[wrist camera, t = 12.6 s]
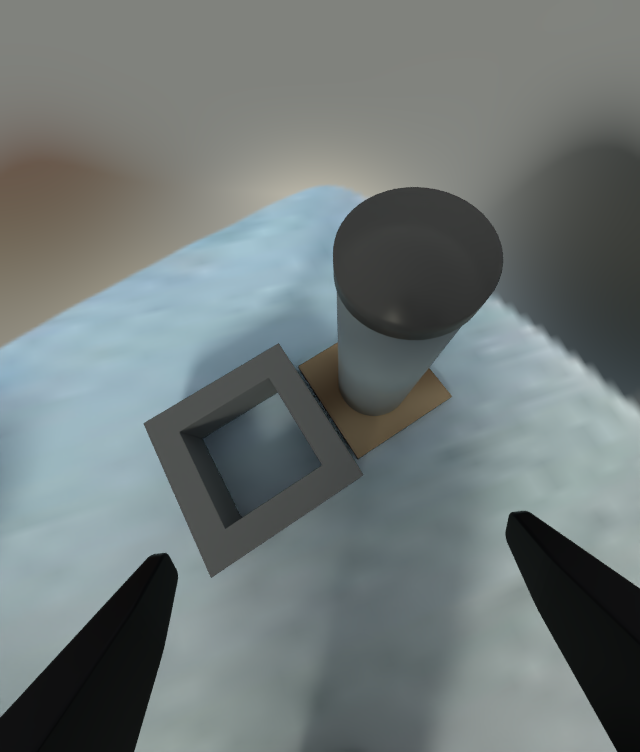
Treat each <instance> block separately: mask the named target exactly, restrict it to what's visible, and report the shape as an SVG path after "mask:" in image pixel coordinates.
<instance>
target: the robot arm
mask: <svg viewBox="0 0 640 752" xmlns="http://www.w3.org/2000/svg"><path fill="white" fill-rule="evenodd" d="M505 535H506V540H507V543H508V545H509V548H510V550H511V552H512V554H513V556H514V559H515V561H516V563H517V565H518V568H519V570H520V572H521V574H522V576H523V579H524V581H525V583H526V585H527V588H528V590H529V592H530V594H531V597H532V599H533V601H534V603H535V605H536V607H537V609H538V611H539V613H540V615H541V616H542V618H543V620H544V622H545V624H546V625H547V627H548V629H549V631H550V633H551V634H552V636H553V638H554V640H555V642H556V643H557V645H558V647H559V649H560V650H561V652H562V654H563V656H564V658H565V659H566V661H567V663H568V665H569V666H570V668H571V670H572V672H573V674H574V675H575V677H576V679H577V681H578V683H579V684H580V686H581V688H582V690H583V691H584V693H585V695H586V697H587V699H588V700H589V702H590V704H591V706H592V707H593V709H594V711H595V713H596V715H597V716H598V718H599V720H600V722H601V724H602V725H603V727H604V729H605V731H606V732H607V734H608V736H609V738H610V740H611V741H612V743H613V745H614V747H615V749H616V750H617V752H640V588H638V587H637V586H636V585H634V584H633V583H631V582H630V581H628V580H627V579H625V578H624V577H623V576H621V575H620V574H618V573H617V572H615V571H614V570H612V569H611V568H610V567H608V566H607V565H605V564H604V563H602V562H601V561H599V560H598V559H597V558H595V557H594V556H592V555H591V554H589V553H588V552H586V551H585V550H584V549H582V548H581V547H579V546H578V545H576V544H575V543H573V542H572V541H571V540H569V539H568V538H566V537H565V536H563V535H562V534H560V533H559V532H558V531H556V530H555V529H553V528H552V527H550V526H549V525H547V524H546V523H545V522H543V521H542V520H540V519H539V518H537V517H536V516H534V515H533V514H532V513H530V512H528V511H517V512H511V513H510V514H509V518H508V522H507V527H506V533H505ZM177 581H178V573H177V570H176V568H175V566H174V564H173V562H172V560H171V558H170V556H169V555H168V554H167V553H160V554H153V555H151V556H149V557H148V558H147V559H146V560H145V561H144V562H143V563H142V564H141V566H140V567H139V568H138V569H137V570H136V571H135V572H134V573H133V574H132V575H131V576H130V578H129V579H128V580H127V581H126V582H125V583H124V584H123V585H122V586H121V587H120V588H119V589H118V591H117V592H116V593H115V594H114V595H113V596H112V597H111V598H110V599H109V600H108V601H107V602H106V604H105V605H104V606H103V607H102V608H101V609H100V610H99V611H98V612H97V613H96V614H95V615H94V617H93V618H92V619H91V620H90V621H89V622H88V623H87V624H86V625H85V626H84V627H83V628H82V630H81V631H80V632H79V633H78V634H77V635H76V636H75V637H74V638H73V639H72V640H71V641H70V643H69V644H68V645H67V646H66V647H65V648H64V649H63V650H62V651H61V652H60V653H59V655H58V656H57V657H56V658H55V659H54V660H53V661H52V662H51V663H50V664H49V665H48V666H47V668H46V669H45V670H44V671H43V672H42V673H41V674H40V675H39V676H38V677H37V678H36V679H35V681H34V682H33V683H32V684H31V685H30V686H29V687H28V688H27V689H26V690H25V691H24V692H23V694H22V695H21V696H20V697H19V698H18V699H17V700H16V701H15V702H14V703H13V704H12V705H11V707H10V708H9V709H8V710H7V711H6V712H5V713H4V714H3V715H2V716H1V717H0V752H134V750H135V747H136V743H137V740H138V737H139V733H140V730H141V726H142V723H143V719H144V716H145V713H146V709H147V706H148V702H149V699H150V695H151V692H152V689H153V685H154V682H155V678H156V675H157V671H158V668H159V665H160V661H161V658H162V654H163V650H164V646H165V641H166V637H167V632H168V627H169V622H170V617H171V612H172V607H173V602H174V597H175V592H176V587H177Z"/></svg>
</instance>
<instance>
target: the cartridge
mask: <svg viewBox="0 0 640 752" xmlns="http://www.w3.org/2000/svg"><path fill="white" fill-rule="evenodd" d="M502 267H503V252H502V246H501V243H500V240H499V237H498V235H497V233H496V231H495V229H494V227H493V226H492V225H491V223H490V222H489V220H488V219H487V218H486V217H485V216H484V215H483V214H482V213H481V212H480V211H479V210H478V209H477V208H475V207H474V206H473V205H471V204H470V203H468V202H467V201H465V200H463V199H461V198H459V197H457V196H455V195H452V194H450V193H447V192H444V191H440V190H436V189H429V188H419V187H410V188H409V187H408V188H399V189H393V190H389V191H386V192H383V193H380V194H377V195H375V196H373V197H371V198H368V199H367V200H365V201H364V202H362V203H360V204H359V205H358V206H357V207H356V208H354V209H353V210H352V211H351V212H350V213H349V214H348V215H347V217H346V218H345V219H344V221H343V222H342V224H341V226H340V228H339V229H338V232H337V234H336V237H335V241H334V247H333V268H334V282H335V286H336V290H337V324H338V381H339V390H340V393H341V395H342V397H343V399H344V401H345V402H346V403H347V404H348V405H349V406H350V407H351V408H352V409H353V410H355V411H357V412H359V413H361V414H364V415H369V416H379V415H384V414H387V413H389V412H391V411H393V410H394V409H396V408H397V407H398V406H399V405H400V404H401V403H402V401H403V400H404V399H405V397H406V396H407V395H408V394H409V392H410V391H411V390H412V389H413V387H414V386H415V385H416V384H417V382H418V381H419V380H420V378H421V377H422V376H423V375H424V373H425V372H426V371H427V370H428V368H429V367H430V366H431V364H432V363H433V362H434V361H435V359H436V358H437V357H438V356H439V354H440V353H441V352H442V351H443V349H444V348H445V347H446V345H447V344H448V343H449V342H450V340H451V339H452V338H453V337H454V335H455V334H456V333H457V331H458V330H459V329H460V328H461V326H463V325H464V324H465V323H467V322H468V321H469V320H470V319H471V318H472V317H473V316H474V315H475V314H476V313H477V311H478V310H479V309H480V308H481V306H482V305H483V304H484V303H485V302H486V300H487V299H488V298H489V296H490V295H491V294H492V292H493V291H494V290H495V288H496V286H497V284H498V282H499V279H500V276H501V273H502Z"/></svg>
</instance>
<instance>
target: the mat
mask: <svg viewBox="0 0 640 752" xmlns="http://www.w3.org/2000/svg"><path fill="white" fill-rule="evenodd" d="M298 367H299V369H300V371H301V372H302V374H303V375H304V377H305V378H306V380H307V381H308V383H309V384H310V386H311V388H312V389H313V391H314V392H315V394H316V395H317V397H318V398H319V400H320V401H321V403H322V404H323V406H324V408H325V409H326V411H327V412H328V414H329V415H330V417H331V418H332V420H333V421H334V423H335V424H336V426H337V427H338V429H339V431H340V432H341V434H342V435H343V437H344V438H345V440H346V441H347V443H348V444H349V446H350V447H351V449H352V451H353V452H354V454H355V455H356V457H357V458H358V459H359V458H360V457H362V456H363V455H365V454H366V453H368V452H369V451H371V450H372V449H374V448H375V447H377V446H378V445H380V444H381V443H383V442H384V441H386V440H387V439H389V438H390V437H392V436H393V435H395V434H396V433H398V432H399V431H401V430H402V429H404V428H405V427H407V426H408V425H410V424H411V423H413V422H415V421H416V420H418V419H419V418H421V417H422V416H424V415H425V414H427V413H428V412H430V411H431V410H433V409H434V408H436V407H437V406H439V405H440V404H442V403H443V402H445V401H446V400H448V399H449V398H451V397H452V396H451V394H450V393H449V392H448V391H447V390H446V388H445V387H444V386H443V385H442V383H441V382H440V381H439V380H438V378H437V377H436V376H435V375H434V373H433V372H432V371H431V370H430V368H428V370H427V371H426V372H425V373H424V375H423V376H422V377H421V378H420V380H419V381H418V382H417V384H416V385H415V386H414V387H413V389H412V390H411V391H410V392H409V394H408V395H407V396H406V397H405V399H404V400H403V401H402V403H401V404H400V405H399V406H398V407H397V408H396V409H394V410H393V411H391V412H389V413H387V414H384V415H379V416H369V415H364V414H361V413H359V412H357V411H355V410H353V409H352V408H351V407H350V406H349V405H348V404H347V403H346V402H345V401H344V399H343V397H342V395H341V393H340V390H339V381H338V342H337V343H336V344H334V345H333V346H331V347H329V348H328V349H326V350H324V351H323V352H321V353H319V354H318V355H316V356H314V357H313V358H311V359H309V360H308V361H306V362H305V363H303V364H301V365H300V366H298Z"/></svg>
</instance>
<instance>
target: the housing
mask: <svg viewBox="0 0 640 752" xmlns="http://www.w3.org/2000/svg"><path fill="white" fill-rule="evenodd" d="M276 393H279V395H280V397H281V398H282V400H283V402H284V403H285V405H286V407H287V408H288V410H289V411H290V413H291V415H292V416H293V418H294V420H295V421H296V423H297V425H298V426H299V428H300V430H301V431H302V433H303V434H304V436H305V438H306V439H307V441H308V443H309V444H310V446H311V448H312V449H313V451H314V453H315V454H316V456H317V458H318V459H319V461H320V462H321V464H322V466H320V467H319V468H317V469H316V470H314V471H313V472H311V473H310V474H308V475H307V476H305V477H304V478H302V479H301V480H299V481H298V482H296V483H294V484H293V485H291V486H290V487H288V488H287V489H285V490H284V491H282V492H281V493H279V494H278V495H276V496H275V497H273V498H272V499H270V500H269V501H267V502H266V503H264V504H263V505H261V506H259V507H258V508H256V509H255V510H253V511H252V512H250V513H249V514H247V515H246V516H244V517H243V518H241V516H240V514H239V512H238V510H237V508H236V506H235V504H234V502H233V500H232V498H231V496H230V494H229V492H228V490H227V488H226V486H225V484H224V482H223V480H222V478H221V476H220V474H219V472H218V470H217V468H216V466H215V464H214V461H213V459H212V457H211V455H210V453H209V451H208V449H207V447H206V445H205V443H204V441H203V438H204V437H206V436H208V435H209V434H211V433H212V432H214V431H216V430H217V429H219V428H221V427H222V426H224V425H225V424H227V423H229V422H230V421H232V420H234V419H235V418H237V417H239V416H240V415H242V414H243V413H245V412H247V411H248V410H250V409H252V408H253V407H255V406H256V405H258V404H260V403H261V402H263V401H265V400H266V399H268V398H269V397H271V396H273V395H274V394H276ZM143 424H144V426H145V428H146V430H147V433H148V435H149V437H150V440H151V442H152V444H153V446H154V449H155V451H156V453H157V456H158V458H159V460H160V462H161V465H162V467H163V469H164V472H165V474H166V476H167V478H168V481H169V483H170V485H171V488H172V490H173V492H174V494H175V497H176V499H177V501H178V504H179V506H180V508H181V510H182V513H183V515H184V517H185V520H186V522H187V524H188V526H189V529H190V531H191V533H192V536H193V538H194V540H195V542H196V545H197V547H198V549H199V552H200V554H201V556H202V558H203V561H204V563H205V565H206V568H207V570H208V572H209V574H210V577H211V578H212V577H213V576H215V575H216V574H218V573H219V572H221V571H222V570H224V569H225V568H226V567H228V566H229V565H231V564H232V563H234V562H235V561H237V560H238V559H240V558H241V557H243V556H244V555H246V554H247V553H249V552H250V551H252V550H253V549H255V548H256V547H258V546H259V545H261V544H262V543H264V542H265V541H267V540H268V539H270V538H271V537H273V536H274V535H275V534H277V533H278V532H280V531H281V530H283V529H284V528H286V527H287V526H289V525H290V524H292V523H293V522H295V521H296V520H298V519H299V518H301V517H302V516H304V515H305V514H307V513H308V512H310V511H311V510H313V509H314V508H316V507H317V506H319V505H320V504H322V503H323V502H324V501H326V500H327V499H329V498H330V497H332V496H333V495H335V494H336V493H338V492H339V491H341V490H342V489H344V488H345V487H347V486H348V485H350V484H351V483H353V482H354V481H356V480H357V479H359V478H360V477H362V476H363V473H362V471H361V470H360V468H359V467H358V465H357V464H356V462H355V461H354V459H353V457H352V456H351V454H350V453H349V451H348V450H347V448H346V447H345V445H344V444H343V442H342V440H341V439H340V437H339V436H338V434H337V433H336V431H335V430H334V428H333V426H332V425H331V423H330V422H329V420H328V419H327V417H326V416H325V414H324V413H323V411H322V409H321V408H320V406H319V405H318V403H317V402H316V400H315V399H314V397H313V396H312V394H311V392H310V391H309V389H308V388H307V386H306V385H305V383H304V382H303V380H302V378H301V377H300V375H299V374H298V372H297V371H296V369H295V368H294V366H293V365H292V363H291V361H290V360H289V358H288V357H287V355H286V354H285V352H284V351H283V349H282V347H281V346H280V344H279V343H278V344H277V345H275V346H273V347H272V348H270V349H268V350H267V351H265V352H263V353H261V354H260V355H258V356H256V357H255V358H253V359H251V360H250V361H248V362H246V363H245V364H243V365H241V366H240V367H238V368H236V369H234V370H233V371H231V372H229V373H228V374H226V375H224V376H223V377H221V378H219V379H218V380H216V381H214V382H213V383H211V384H209V385H207V386H206V387H204V388H202V389H201V390H199V391H197V392H196V393H194V394H192V395H191V396H189V397H187V398H185V399H184V400H182V401H180V402H179V403H177V404H175V405H174V406H172V407H170V408H169V409H167V410H165V411H164V412H162V413H160V414H158V415H157V416H155V417H153V418H152V419H150V420H148V421H147V422H145V423H143Z"/></svg>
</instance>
